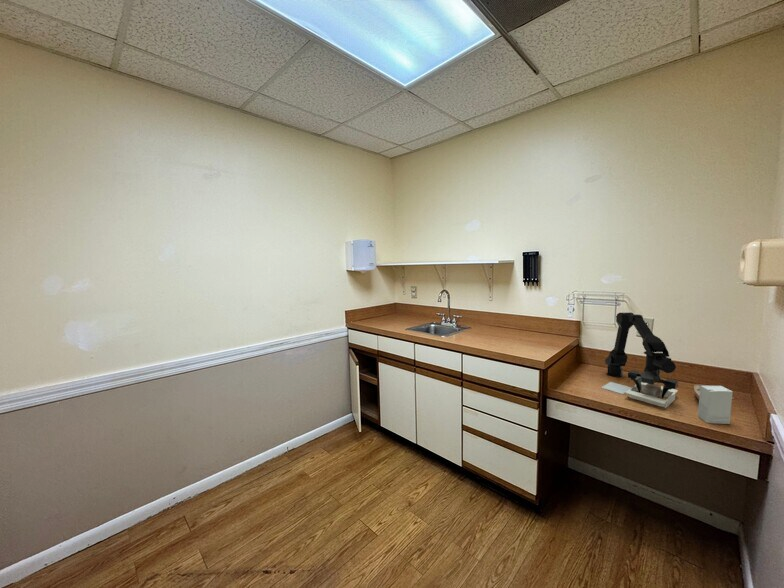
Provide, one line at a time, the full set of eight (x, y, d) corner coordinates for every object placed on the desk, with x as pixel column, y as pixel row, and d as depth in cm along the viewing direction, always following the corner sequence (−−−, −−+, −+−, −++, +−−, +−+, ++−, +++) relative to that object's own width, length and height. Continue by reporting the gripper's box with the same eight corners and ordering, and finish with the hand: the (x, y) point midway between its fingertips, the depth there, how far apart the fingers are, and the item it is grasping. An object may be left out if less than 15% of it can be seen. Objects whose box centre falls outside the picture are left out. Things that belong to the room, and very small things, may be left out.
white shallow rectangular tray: (624, 399, 157) (624, 392, 156) (640, 387, 170) (640, 380, 169) (663, 410, 144) (664, 403, 144) (677, 396, 157) (678, 390, 157)
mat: (601, 388, 170) (601, 387, 170) (610, 382, 177) (610, 381, 177) (622, 394, 162) (622, 393, 162) (631, 388, 169) (631, 387, 168)
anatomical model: (729, 416, 139) (731, 405, 138) (698, 410, 144) (699, 399, 144) (716, 396, 157) (717, 386, 156) (689, 391, 163) (690, 382, 162)
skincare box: (718, 417, 137) (721, 385, 135) (730, 425, 131) (734, 391, 129) (696, 416, 139) (699, 384, 137) (707, 423, 133) (710, 390, 131)
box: (641, 398, 156) (642, 387, 156) (648, 393, 162) (648, 382, 161) (654, 402, 152) (655, 390, 152) (660, 397, 158) (661, 385, 157)
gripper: (624, 364, 157) (622, 393, 159) (672, 374, 142) (670, 407, 144) (632, 359, 164) (630, 387, 166) (679, 369, 149) (677, 400, 151)
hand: (650, 395), depth 156 cm, fingers open, 9 cm apart
